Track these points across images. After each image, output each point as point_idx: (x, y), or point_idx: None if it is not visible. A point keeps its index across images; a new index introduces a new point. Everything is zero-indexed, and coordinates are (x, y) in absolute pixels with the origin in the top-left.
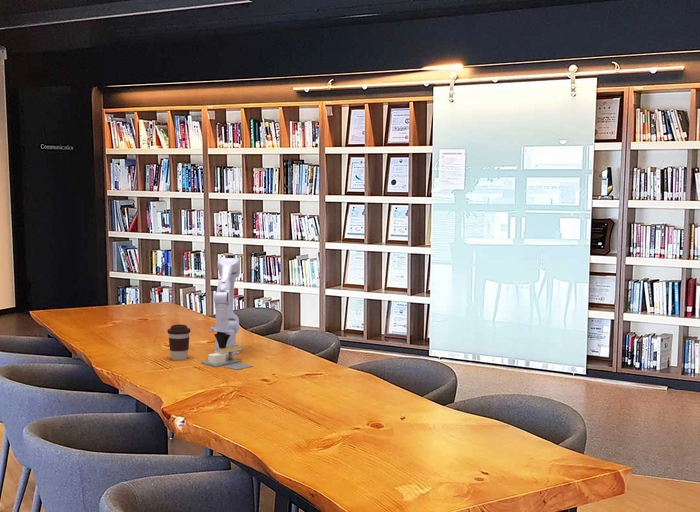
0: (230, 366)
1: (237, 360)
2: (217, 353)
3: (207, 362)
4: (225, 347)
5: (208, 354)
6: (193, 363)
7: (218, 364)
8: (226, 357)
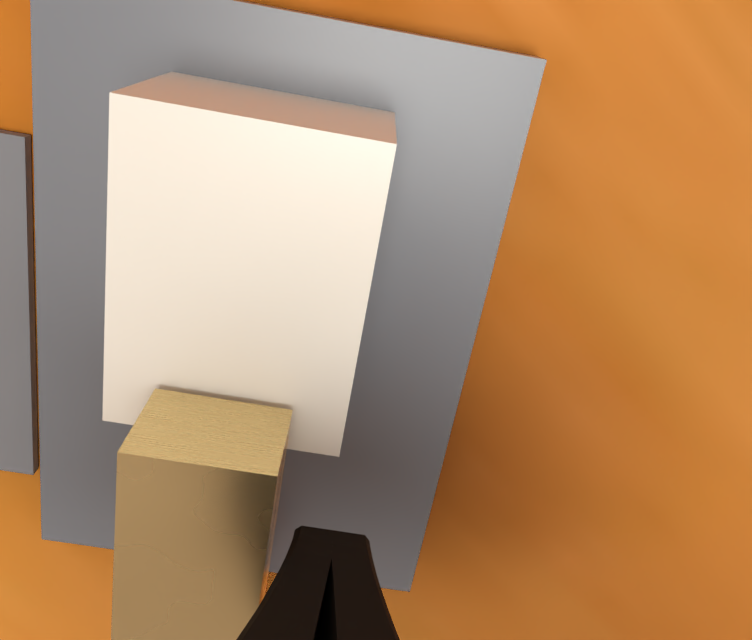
0: None
1: (86, 509)
2: (284, 360)
3: (406, 106)
4: (196, 603)
5: (390, 156)
6: (741, 33)
7: (80, 90)
8: (393, 570)
